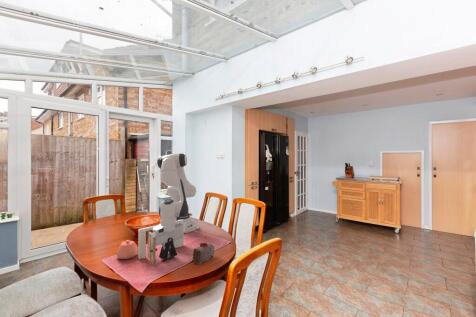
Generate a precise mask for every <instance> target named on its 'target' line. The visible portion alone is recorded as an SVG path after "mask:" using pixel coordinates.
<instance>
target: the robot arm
mask: <svg viewBox="0 0 476 317" xmlns="http://www.w3.org/2000/svg"><path fill="white" fill-rule="evenodd" d="M156 164H157V167H158V168H159V169H160V180H161V182H162V183H163V184H164V185H166V186H167V188H166V194H167V196H168V197H170V198H171V199H170V198H167V199H163V200H162V201H161V204H160V205H159V206H158V216H159V217H160V223H159V224H156V225H157V226H155V225H154V226H155V227H153V228H152V230H151V233H152V235H151V244H152V245H153V239H152V237H154V238H155V247H157V246H160V245H161V247H162V246H163V249H164V250H165V246H164V245H165V243H167V242H168V241H167V240H168V238H170V237H171V238H173V244H174V242H175V240H177V239H181V238H183V236H184V235H185V234H186V233H187V234H188V233H190V232H194V231H196V230H198V229H200V226H199V225H197V221H196V219H193V217H192V216H193V213H192V212H191V213H190V210H189V209H190V207H189V204H188V202H187V199H188V198H189V199H190V198H193V197H195V196H196V195H197V188H196V186H195V185H194V184H192V183H191V182H190V181H189V180H188V178H187V176H186V173H185V168H184V167H185V166H187V164H188V157H187V156H186V154H184V153H171V154H165V155H160V156H158V158H157V160H156ZM182 219H183V220H184V222H183V223H184V233H183V225H182V224H176V225H175V221H178V220H182ZM184 237H185V236H184ZM171 238H170V240H169V242H171V240H172V239H171ZM169 248H171V246H170V247H169Z"/></svg>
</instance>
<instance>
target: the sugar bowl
mask: <svg viewBox="0 0 476 317" xmlns="http://www.w3.org/2000/svg"><path fill="white" fill-rule="evenodd" d="M137 255H138V245H137V243H136V242H135V241H133V240H130V239H127V240H125V241H124V240H123V241H121V242H120V243H119V246H118V248H117V251H116V257H117V258H118V259H120V260H124V259H125V261H126V259H127V260H129V259H132V258H134V257H136V256H137Z"/></svg>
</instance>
